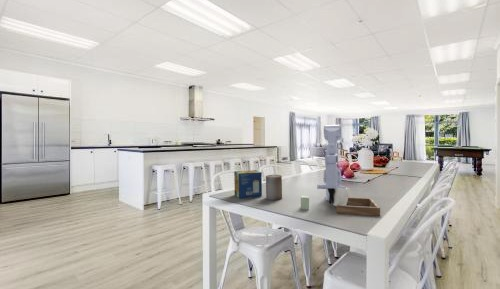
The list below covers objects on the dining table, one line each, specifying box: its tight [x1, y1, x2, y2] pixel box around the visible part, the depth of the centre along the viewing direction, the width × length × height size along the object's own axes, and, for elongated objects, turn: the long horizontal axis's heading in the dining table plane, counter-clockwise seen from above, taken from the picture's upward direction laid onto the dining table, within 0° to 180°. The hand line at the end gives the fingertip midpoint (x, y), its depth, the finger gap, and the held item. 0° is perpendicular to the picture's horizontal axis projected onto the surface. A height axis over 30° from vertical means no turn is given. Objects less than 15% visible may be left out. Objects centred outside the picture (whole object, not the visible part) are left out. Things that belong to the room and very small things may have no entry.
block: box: [300, 195, 310, 210], centre depth 129 cm, size 4×4×6 cm
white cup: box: [332, 186, 351, 207], centre depth 131 cm, size 8×8×10 cm
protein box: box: [233, 169, 263, 199], centre depth 158 cm, size 10×15×16 cm
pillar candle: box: [265, 174, 283, 201], centre depth 151 cm, size 10×10×15 cm
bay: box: [335, 196, 381, 216], centre depth 126 cm, size 19×19×4 cm
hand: (331, 203), depth 131 cm, fingers closed, pressing on white cup
